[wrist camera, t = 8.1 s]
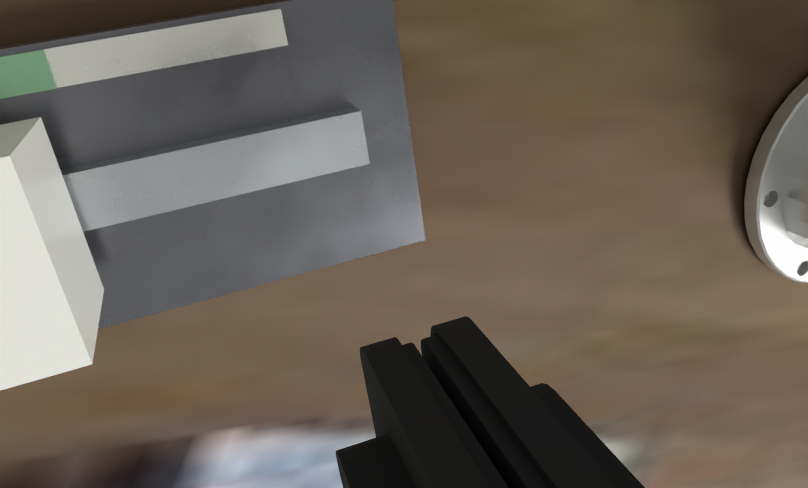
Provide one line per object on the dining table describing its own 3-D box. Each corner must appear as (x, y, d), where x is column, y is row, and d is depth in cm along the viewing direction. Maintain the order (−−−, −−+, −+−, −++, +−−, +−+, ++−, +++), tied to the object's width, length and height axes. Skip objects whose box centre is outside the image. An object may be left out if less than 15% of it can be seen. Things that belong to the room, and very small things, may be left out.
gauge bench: (378, -17, 25) (458, -14, 18) (413, 227, 29) (488, 302, 22) (-421, 117, 19) (-725, 192, 12) (-235, 400, 23) (-389, 569, 17)
